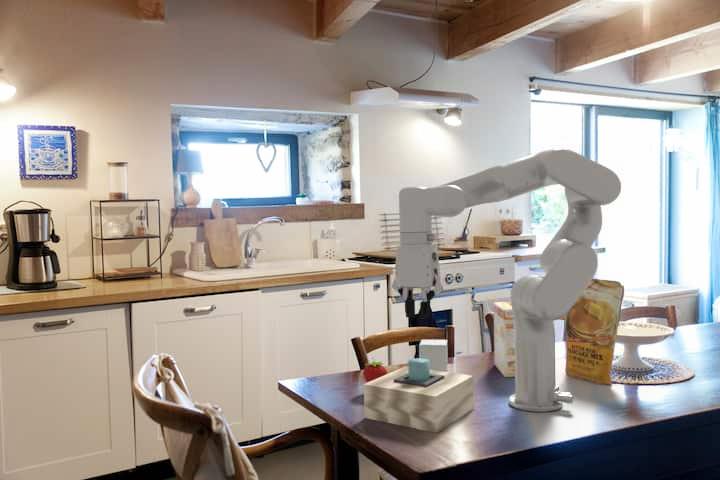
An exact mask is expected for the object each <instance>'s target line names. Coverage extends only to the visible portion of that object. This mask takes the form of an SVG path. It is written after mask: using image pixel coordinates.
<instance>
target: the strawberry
mask: <svg viewBox="0 0 720 480" xmlns="http://www.w3.org/2000/svg"><path fill="white" fill-rule="evenodd" d="M371 357H372V359H373V361H371V362H369V363H365V364H364V366H365V367H364V369H363V376H364V377H363V378H364V380H365V383H368V382H370V381H373V380H375V379H377V378H380V377H382V376H384V375H386V374H388V371H387V369H386V367H384V366H382V365H383V362H382V361H377V362H376V361H375V358H373V356H371Z"/></svg>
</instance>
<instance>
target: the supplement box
mask: <svg viewBox="0 0 720 480" xmlns="http://www.w3.org/2000/svg"><path fill="white" fill-rule="evenodd" d="M448 356H449V355H448V339H421V340H420V342H419V345H418V358H422V359H428V360H429V362H430V370H435V371H442V372H449V369H448V367H449V365H448V364H449V363H448Z"/></svg>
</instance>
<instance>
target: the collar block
mask: <svg viewBox="0 0 720 480" xmlns="http://www.w3.org/2000/svg"><path fill="white" fill-rule="evenodd" d="M474 393H475V391H474V376H473V375H470V374H463V373H455V372H449V371H448V372H442V371H435V370H430V379H429V380H427V381H425V382H420V381H413V380H409V369H408V366H407V365H405V366H403V367H400V368H398V369H395V370H394V371H391V372H389V373H387V374H386V375H384V376H382V377H380V378H377V379H375V380H373V381H370V382H368V383H367V382H365V383H364V384H363V405H364V406H363V407H364V409H363V410H364V412H363V413H364V419H367V420H374V421H378V422H382V423H387V424H393V425H397V426H402V427H407V428H412V429H415V428H416V430H422V431H426V432H431V433H439V432H440V431H442V430H443V429H445V428H447V427H448V426H450V425H451V424H452V423H454V422H456V421H457V420H458V419H460V418H462V417H464V416H465V415H466V414H468V413H470V412H471V411H472V410H474V409H475V403H474V402H475V401H474V400H475V398H474V397H475V394H474Z"/></svg>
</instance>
